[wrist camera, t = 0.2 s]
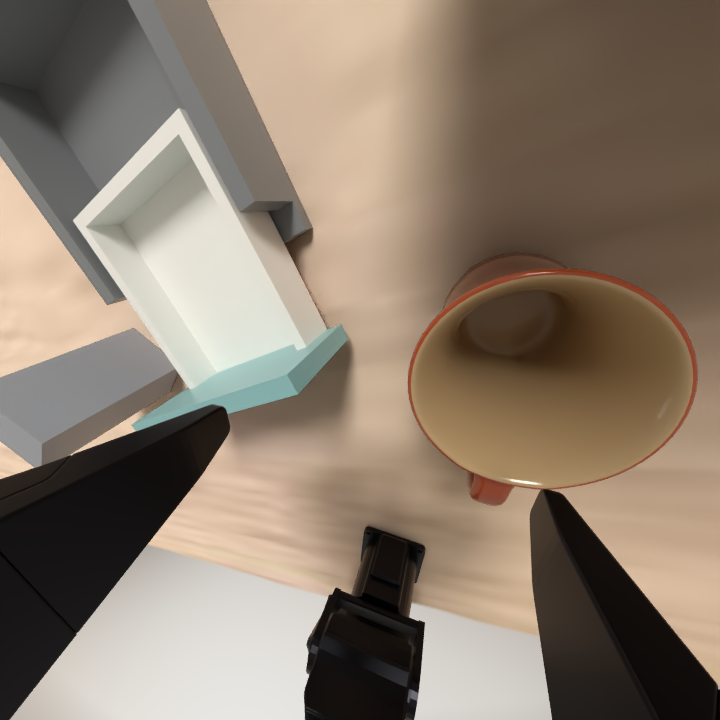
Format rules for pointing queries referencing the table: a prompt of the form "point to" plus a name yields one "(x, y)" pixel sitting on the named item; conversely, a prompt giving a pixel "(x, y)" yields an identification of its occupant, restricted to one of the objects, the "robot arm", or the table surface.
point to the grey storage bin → (126, 108)
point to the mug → (549, 376)
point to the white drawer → (206, 278)
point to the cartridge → (80, 395)
